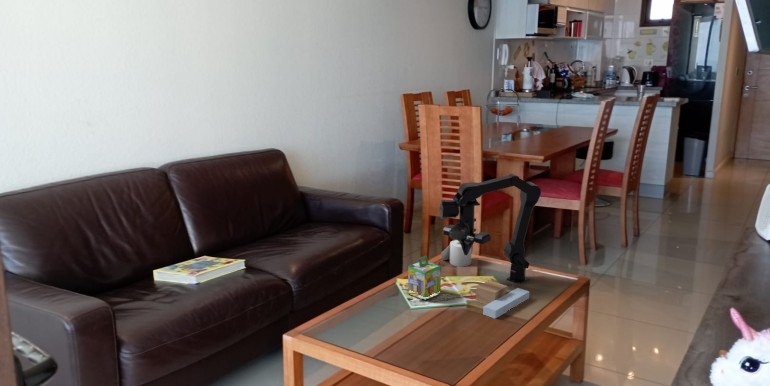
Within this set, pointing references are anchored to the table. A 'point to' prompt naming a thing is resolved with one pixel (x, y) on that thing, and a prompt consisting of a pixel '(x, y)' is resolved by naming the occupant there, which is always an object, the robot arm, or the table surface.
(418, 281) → the chalk box
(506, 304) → the pale grey long bar
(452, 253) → the toilet tissue
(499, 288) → the block
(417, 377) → the table surface
